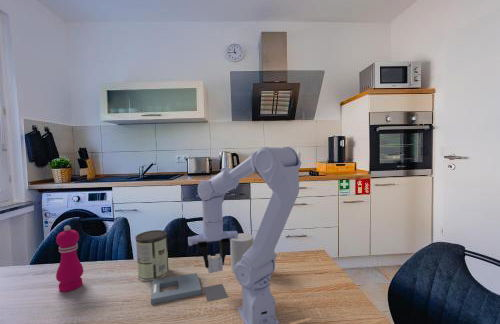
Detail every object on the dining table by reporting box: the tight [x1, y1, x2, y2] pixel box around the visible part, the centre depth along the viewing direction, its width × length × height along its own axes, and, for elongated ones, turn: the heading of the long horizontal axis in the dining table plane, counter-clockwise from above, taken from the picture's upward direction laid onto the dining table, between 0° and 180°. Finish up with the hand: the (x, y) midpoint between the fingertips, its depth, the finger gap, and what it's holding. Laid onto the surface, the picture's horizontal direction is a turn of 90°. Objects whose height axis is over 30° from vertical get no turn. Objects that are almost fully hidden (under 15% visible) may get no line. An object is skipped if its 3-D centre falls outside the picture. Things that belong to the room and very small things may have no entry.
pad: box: [203, 283, 229, 303], centre depth 77 cm, size 8×6×1 cm
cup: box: [229, 232, 254, 275], centre depth 91 cm, size 8×8×12 cm
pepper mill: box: [55, 225, 84, 293], centre depth 83 cm, size 7×7×20 cm
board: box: [150, 272, 202, 305], centre depth 79 cm, size 11×14×2 cm
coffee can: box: [134, 229, 170, 282], centre depth 90 cm, size 10×10×14 cm
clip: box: [206, 253, 224, 274], centre depth 77 cm, size 4×4×4 cm
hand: (214, 265), depth 77 cm, fingers closed on clip, 4 cm apart
